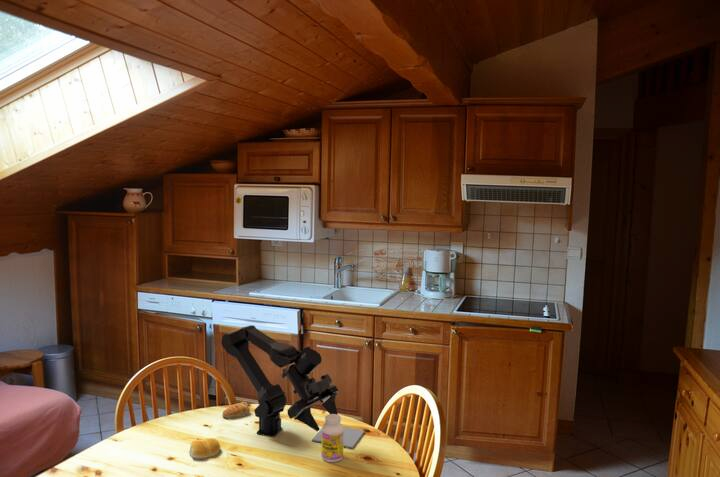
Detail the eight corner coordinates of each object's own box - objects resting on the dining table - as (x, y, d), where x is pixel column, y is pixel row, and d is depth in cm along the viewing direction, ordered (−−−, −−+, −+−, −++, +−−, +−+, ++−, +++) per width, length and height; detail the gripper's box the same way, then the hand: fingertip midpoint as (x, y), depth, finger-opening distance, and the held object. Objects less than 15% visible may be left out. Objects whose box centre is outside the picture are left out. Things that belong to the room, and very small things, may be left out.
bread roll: (223, 454, 159) (223, 442, 159) (194, 462, 154) (193, 449, 154) (215, 443, 166) (214, 431, 166) (186, 450, 161) (186, 438, 161)
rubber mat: (311, 441, 168) (311, 439, 168) (326, 425, 179) (326, 423, 179) (352, 449, 163) (352, 447, 163) (364, 432, 175) (364, 430, 175)
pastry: (227, 421, 181) (227, 411, 181) (219, 415, 186) (218, 405, 186) (251, 414, 187) (251, 404, 187) (242, 408, 192) (242, 398, 192)
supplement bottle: (317, 460, 156) (318, 419, 155) (326, 450, 162) (327, 410, 161) (338, 465, 154) (338, 423, 153) (346, 454, 160) (347, 414, 159)
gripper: (294, 376, 152) (323, 423, 147) (334, 360, 167) (361, 401, 162) (275, 396, 157) (302, 441, 152) (315, 378, 172) (341, 419, 167)
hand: (328, 425), depth 158 cm, fingers open, 9 cm apart
